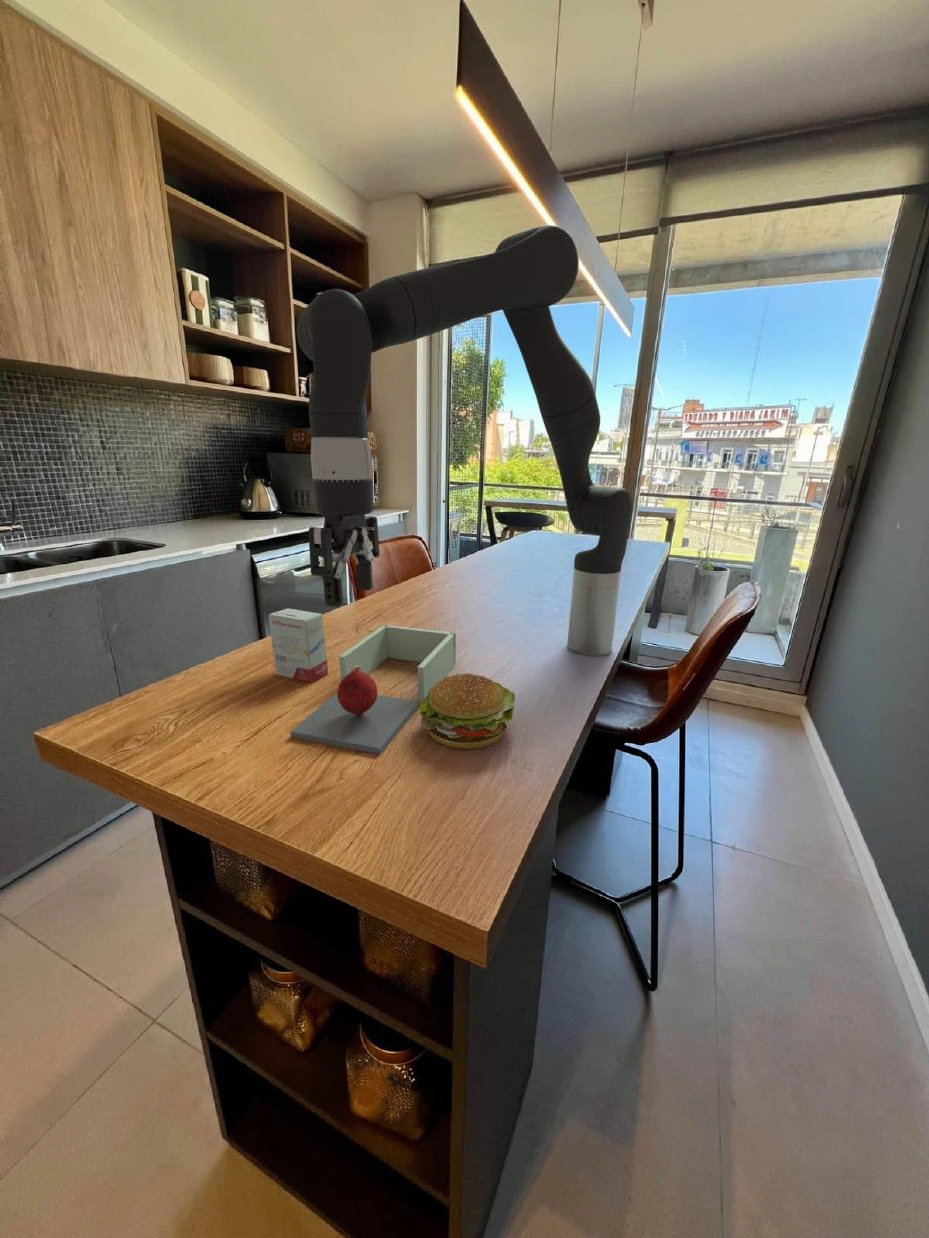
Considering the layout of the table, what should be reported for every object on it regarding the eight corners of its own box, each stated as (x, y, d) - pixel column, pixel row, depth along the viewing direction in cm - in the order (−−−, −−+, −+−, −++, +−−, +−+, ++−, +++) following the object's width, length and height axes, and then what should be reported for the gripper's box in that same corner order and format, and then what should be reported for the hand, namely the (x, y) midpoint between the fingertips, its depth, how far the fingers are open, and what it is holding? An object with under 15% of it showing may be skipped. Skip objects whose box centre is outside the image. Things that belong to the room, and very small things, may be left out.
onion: (369, 727, 71) (366, 677, 68) (332, 722, 72) (328, 673, 69) (383, 707, 76) (381, 660, 74) (349, 703, 77) (345, 657, 75)
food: (487, 769, 63) (489, 714, 61) (402, 736, 70) (401, 686, 68) (532, 723, 74) (535, 675, 72) (454, 699, 81) (455, 655, 79)
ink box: (329, 673, 90) (324, 612, 87) (311, 684, 86) (305, 620, 82) (293, 665, 94) (287, 606, 90) (274, 674, 90) (267, 613, 86)
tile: (341, 694, 82) (341, 689, 82) (418, 706, 79) (418, 701, 78) (290, 737, 70) (290, 731, 69) (380, 754, 66) (380, 748, 66)
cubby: (384, 655, 99) (383, 624, 97) (455, 664, 95) (455, 633, 93) (341, 691, 83) (339, 656, 81) (423, 704, 79) (423, 667, 77)
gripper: (339, 478, 55) (349, 614, 61) (392, 474, 68) (396, 586, 73) (283, 477, 57) (296, 608, 63) (344, 473, 70) (351, 582, 75)
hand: (350, 596), depth 68 cm, fingers open, 8 cm apart
